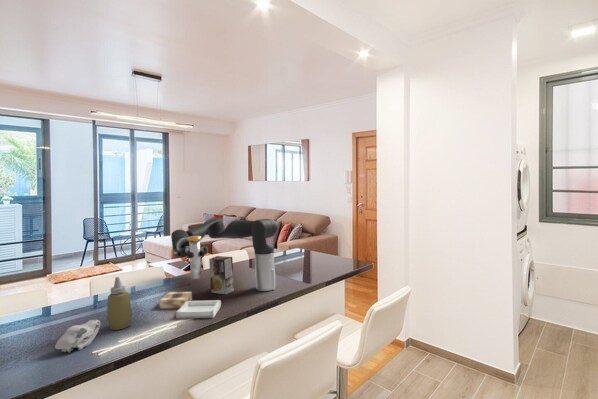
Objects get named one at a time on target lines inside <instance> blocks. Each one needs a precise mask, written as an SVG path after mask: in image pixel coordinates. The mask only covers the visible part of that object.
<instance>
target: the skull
mask: <svg viewBox="0 0 598 399" xmlns="http://www.w3.org/2000/svg"><path fill="white" fill-rule="evenodd" d="M101 324H102V323H101V321H100V320H99V319H89V320H88V321H87V322H85V323H83V324H78V325H77V324H75V325H71V326H70V327H68V328H67V329H66V331H65V332H64V333H63V335H62V336H60V337H59V339H58V340H57V342H56V343H55V346H54V348H55V349H56V350H61V352H62V353H63V352H64V353H67V352H68V354H69V353H72V352H71V351H73V350H74V349H75V348H78V349H77V350H78V351H81V350H82V349H84V348H85V347H89V346H90V345H91V344H92V342H93V341H94V340H95V338H96V336H97V335H98V333H99V331H100V328H101Z"/></svg>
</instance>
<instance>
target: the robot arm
mask: <svg viewBox="0 0 598 399" xmlns="http://www.w3.org/2000/svg"><path fill="white" fill-rule="evenodd" d="M277 232H278V224H277V222H276V221H275V220H273V219H272V218H261V219H256V220H247V219H246V220H245V219H244V220H243V219H240V220H239V219H235V220H231V221H229V223H228V224H227V226H226V227H225V225H224V221H223V219H222V218H220V217H216V218H211V219H208V220H207V221H205V222H203V223H201V224H200V225H198V226H196V227H194V228H191V229H188V230H183V229H176V230H173V231H172V233H171V235H170V236H171V237H170V238H171V245H172V247H171V248H172V251H173V252H174V254H173V255H174V256H175V257H179V258H187V259H188V258H189V259H190V258H192V253H191V252H190V246H189V241H188V239H187V237H190V236H201V240H203V239H204V237H205V236H206V234H208V237H209V238H210V239H223V238H225V239H226V238H229V239H230V238H233V239H246V238H251V241H252V247H253V250H254V251H253V252H254V275H255V276H254V277H255V290H257V291H260V292H267V291H268V292H269V291H274V290H275V289H276V287H277V286H276V266H275V248H274V246H273V245H272V244H271V245H270V244H268V243H267V239H270V238H272V237H274V236H275V235H276V234H277ZM208 251H209V250H208V245H203V246H201V245H200V254H201V258H202V257H204V256H206V255H207V254H208V253H209V252H208Z"/></svg>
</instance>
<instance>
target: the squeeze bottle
mask: <svg viewBox="0 0 598 399" xmlns="http://www.w3.org/2000/svg"><path fill="white" fill-rule="evenodd" d="M121 281H122V280H121V277H120V276H116V277H115V278H114V285H113V287H111V288H110V294H109V295H108V296H107V307H106V322H107V323H108V325H109V328H110V330H112V331H117V330H122V329H123V330H124V329H126V328H128V327H129V326H130V324H131V320H132V316H133V311H132V305H131V300H130V295H129V292H128V291H126V286H125V285H123V284H122V282H121Z"/></svg>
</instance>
